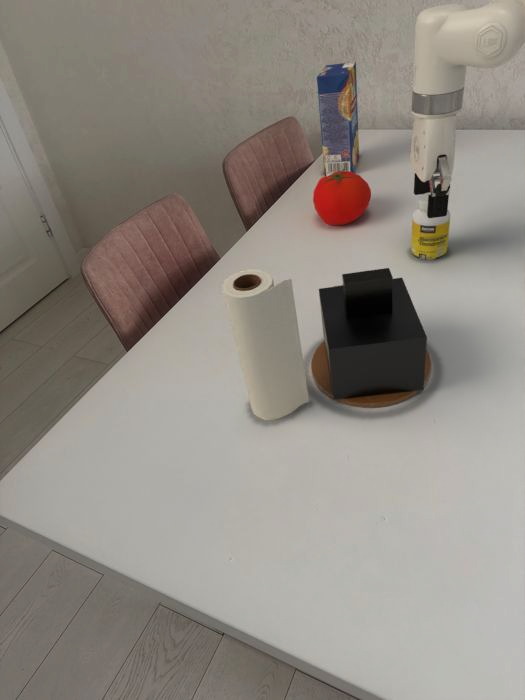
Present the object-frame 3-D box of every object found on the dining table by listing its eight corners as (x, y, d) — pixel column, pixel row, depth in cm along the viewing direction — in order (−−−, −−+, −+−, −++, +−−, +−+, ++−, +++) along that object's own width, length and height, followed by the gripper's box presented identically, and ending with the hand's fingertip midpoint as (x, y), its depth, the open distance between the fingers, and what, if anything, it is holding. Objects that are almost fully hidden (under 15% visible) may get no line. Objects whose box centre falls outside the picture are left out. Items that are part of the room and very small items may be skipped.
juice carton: (352, 175, 130) (348, 73, 115) (324, 176, 133) (316, 77, 118) (359, 158, 139) (355, 61, 124) (332, 159, 141) (326, 65, 126)
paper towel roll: (243, 414, 71) (210, 287, 57) (270, 388, 74) (244, 263, 60) (283, 435, 67) (257, 304, 53) (309, 406, 70) (291, 276, 56)
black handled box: (307, 336, 80) (296, 252, 70) (415, 323, 78) (418, 235, 69) (316, 414, 67) (304, 324, 57) (445, 400, 65) (455, 304, 56)
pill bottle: (408, 263, 94) (410, 205, 87) (413, 246, 98) (415, 189, 91) (444, 265, 91) (449, 205, 84) (448, 247, 96) (453, 189, 88)
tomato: (326, 206, 119) (322, 162, 112) (377, 208, 113) (376, 162, 107) (306, 233, 110) (300, 186, 103) (360, 236, 105) (358, 187, 98)
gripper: (400, 91, 85) (398, 188, 96) (426, 121, 71) (419, 229, 82) (446, 84, 84) (437, 182, 95) (480, 113, 71) (466, 223, 82)
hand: (429, 204), depth 89 cm, fingers open, 9 cm apart
